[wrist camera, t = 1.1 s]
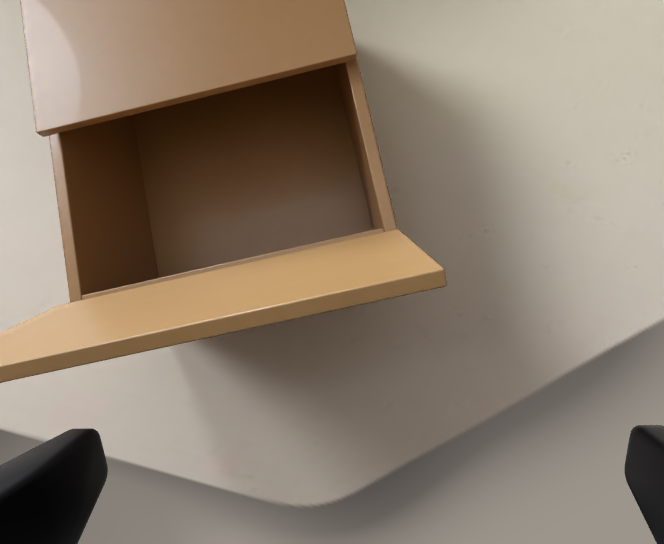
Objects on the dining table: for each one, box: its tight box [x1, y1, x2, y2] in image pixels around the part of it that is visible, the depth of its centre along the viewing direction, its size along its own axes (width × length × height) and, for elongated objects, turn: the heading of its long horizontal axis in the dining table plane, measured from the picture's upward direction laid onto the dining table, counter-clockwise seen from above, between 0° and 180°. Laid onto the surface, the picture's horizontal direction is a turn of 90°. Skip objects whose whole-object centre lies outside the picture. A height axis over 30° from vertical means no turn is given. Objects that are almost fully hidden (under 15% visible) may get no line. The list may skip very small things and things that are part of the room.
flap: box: [0, 229, 447, 383], centre depth 13 cm, size 7×13×1 cm
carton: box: [20, 0, 397, 303], centre depth 21 cm, size 14×13×8 cm
